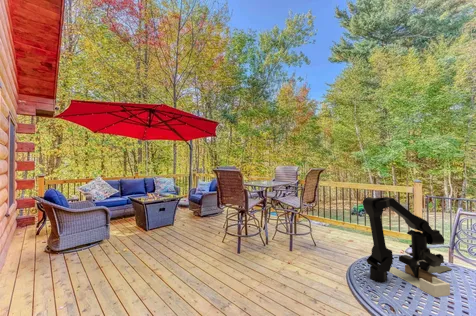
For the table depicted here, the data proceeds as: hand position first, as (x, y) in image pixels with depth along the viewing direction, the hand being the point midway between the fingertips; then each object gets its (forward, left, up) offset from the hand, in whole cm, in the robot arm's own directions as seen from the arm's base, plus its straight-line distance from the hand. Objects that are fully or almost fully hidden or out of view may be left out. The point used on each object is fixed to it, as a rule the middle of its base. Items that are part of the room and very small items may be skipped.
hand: (420, 277), depth 102 cm
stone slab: (+16, +8, -2) cm, 18 cm away
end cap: (-6, -10, 0) cm, 12 cm away
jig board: (-6, -1, -1) cm, 6 cm away
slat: (0, 0, -1) cm, 1 cm away
